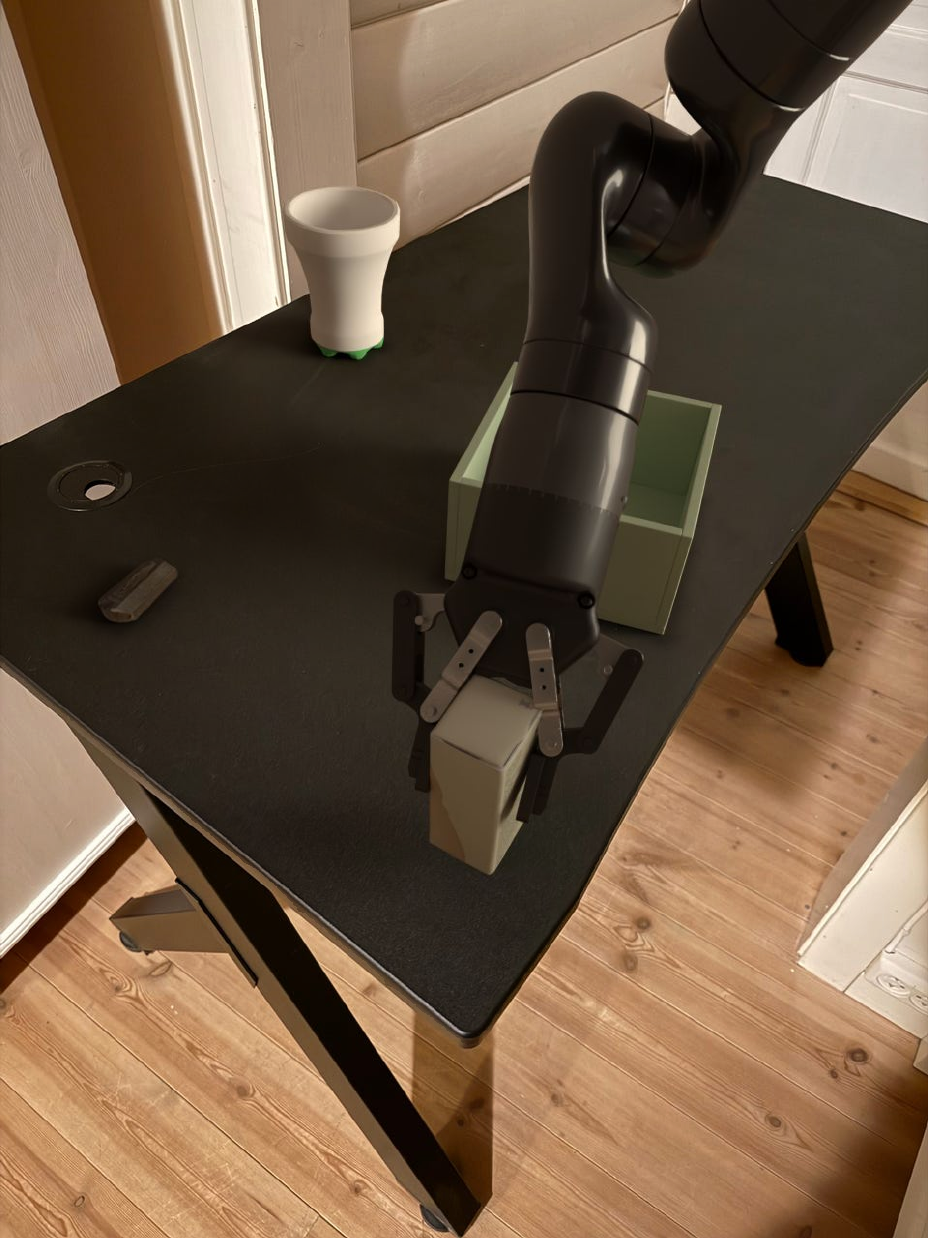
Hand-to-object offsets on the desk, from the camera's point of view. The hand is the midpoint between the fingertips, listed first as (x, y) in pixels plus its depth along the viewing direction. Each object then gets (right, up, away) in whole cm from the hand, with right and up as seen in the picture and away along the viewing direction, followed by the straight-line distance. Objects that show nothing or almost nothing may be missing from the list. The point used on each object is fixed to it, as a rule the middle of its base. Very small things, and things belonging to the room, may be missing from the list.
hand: (474, 803), depth 49 cm
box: (0, -3, +6) cm, 6 cm away
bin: (+9, +17, +28) cm, 34 cm away
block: (-25, +11, +21) cm, 35 cm away
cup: (-13, +39, +48) cm, 63 cm away
